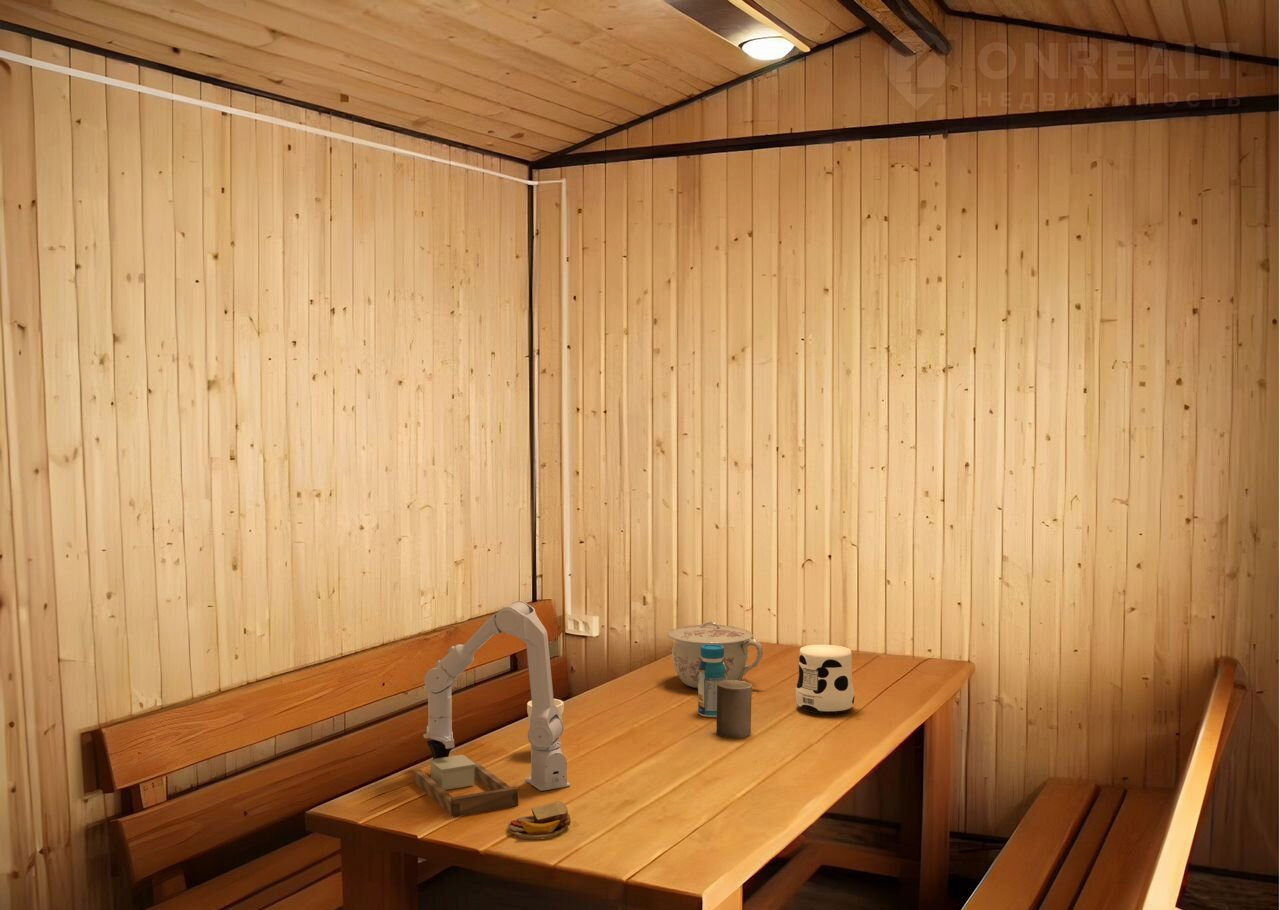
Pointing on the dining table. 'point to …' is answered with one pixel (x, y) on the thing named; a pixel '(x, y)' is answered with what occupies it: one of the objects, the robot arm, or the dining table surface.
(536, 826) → the toy sandwich meal
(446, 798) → the bay
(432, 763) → the beige square block
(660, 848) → the dining table surface
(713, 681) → the beverage bottle
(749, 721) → the pillar candle
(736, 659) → the chamber pot
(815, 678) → the milk container
